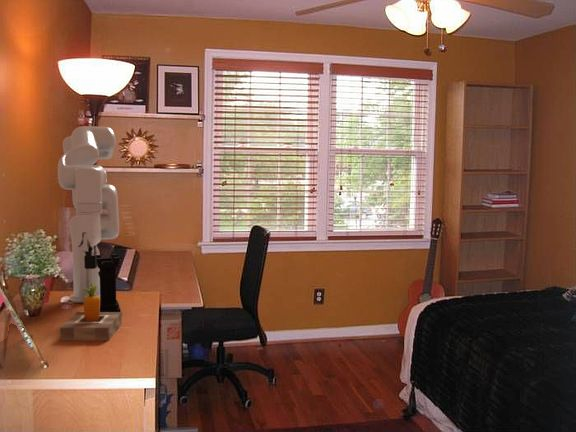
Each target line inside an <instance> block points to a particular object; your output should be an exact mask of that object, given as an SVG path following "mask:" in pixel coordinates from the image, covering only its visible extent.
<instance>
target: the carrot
mask: <svg viewBox="0 0 576 432" xmlns="http://www.w3.org/2000/svg"><path fill="white" fill-rule="evenodd" d="M90 285H91V287H90V290H88V289H87V288H84V290H86V291H87V292H88V293H89V296H86V297H85V298H84V303H83V312H84V315H85V320H86V322H98V318H99V313H100V297H99V296H96V295H94V293H95V291H96V288H97V287H96V286H94V284H93V283H91V284H90Z"/></svg>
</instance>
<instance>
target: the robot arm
mask: <svg viewBox="0 0 576 432" xmlns="http://www.w3.org/2000/svg"><path fill="white" fill-rule="evenodd" d="M116 140H117V139H116V135H115V131H114V130H113V129H112V128H110V127H109V126H92V125H91V126H90V125H89V126H87V125H86V126H85V125H83V126H79V127H76V128H75V129H74V130H72V132H71V135H70V136H67V137H65V138H64V139H63V141H62V151H63V154H62V155H61V156H60V158H59V159H58V163H57V181H58V184H59V187H60V188H62V189H64V190H68V191H69V190H71V193H72V194H71V197H72V204H73V207H74V209H75V213H76V215H73V216H72V217H71V218H70V219H69V222H68V228H69V234H70V239H71V249H72V275H73V278H72V280H73V281H72V282H73V283H72V285H73V294H71V295H69V297H68V298H69V301H70V302H72V303H75V304H76V303H77V304H79V303H80V304H84V298H85V297H86V296H89V293H88V292H87V291H86V290H84V288H87V289H88V290H90V287H91V285H90V284H91V283H93V284H94V286H96V287H97V288H96V291H95V293H94V295H96V296H99V297H100V277H99V275H98V272H99V271H100V270H99V268H98V266H97V255H100V256H101V253H100V249H99V247H98V244H99V243H101V241H102V240H113V239H116V238H118V236H119V234H120V215H119V213H120V212H119V197H118V196H119V195H118V191H117V188H116V187H115V186H114V185H112V184H110V183H109V184H107V181H108V180H107V179H108V175H107V171H106V170H105V169H104V167H103V166H102V165H95V164H96V163H98V162H97V161H98V160H109V159H111V158H113V156H114V154H115V150H116V145H117V141H116ZM103 211H104V212H105V213H103Z"/></svg>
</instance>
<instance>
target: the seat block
mask: <svg viewBox="0 0 576 432" xmlns="http://www.w3.org/2000/svg"><path fill="white" fill-rule="evenodd" d="M121 313H122V311H121V312H100V313H99V318H98V322H86V320H85V315H84V311H76V312H75V314H74V315H72V316H71V317H70V318H69V319H68V320H67V321H66V322H64V323H63V324H62V325H61V326H60V329H59V330H60V333H59V334H60V341H70V342H71V341H72V342H73V341H89V342H90V341H94V342H95V341H103V342H105V341H106V342H107V341H110V340H111V338H112V337H113V336H114V335H115V334H116V332H117V331H118V330H119V329H120V327H121V326H122V325H123V323H122V322H123V321H122V320H123V319H122V317H123V315H122V316H121Z"/></svg>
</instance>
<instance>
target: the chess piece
mask: <svg viewBox="0 0 576 432" xmlns="http://www.w3.org/2000/svg"><path fill="white" fill-rule="evenodd" d="M119 262H120V256H118V254H117V253H112V255H111V257H103V258H102V257H101V254H100V255H97V266H98V268H99V270H100V271H99V272H98V275H99V277H100V312H121V316H122V317H123V312H122V311H121V307H120V303H119V300H118V299H117V280H116V279H117V277H118V273H117V271H116V269H117V268H118V267H119Z"/></svg>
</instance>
